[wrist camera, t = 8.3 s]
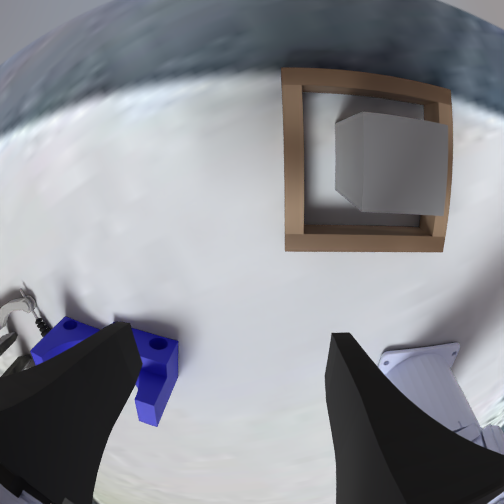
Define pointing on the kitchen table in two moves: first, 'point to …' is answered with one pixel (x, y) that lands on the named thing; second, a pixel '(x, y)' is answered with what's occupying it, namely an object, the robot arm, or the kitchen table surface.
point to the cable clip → (152, 355)
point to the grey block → (392, 163)
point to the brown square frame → (296, 231)
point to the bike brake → (7, 340)
